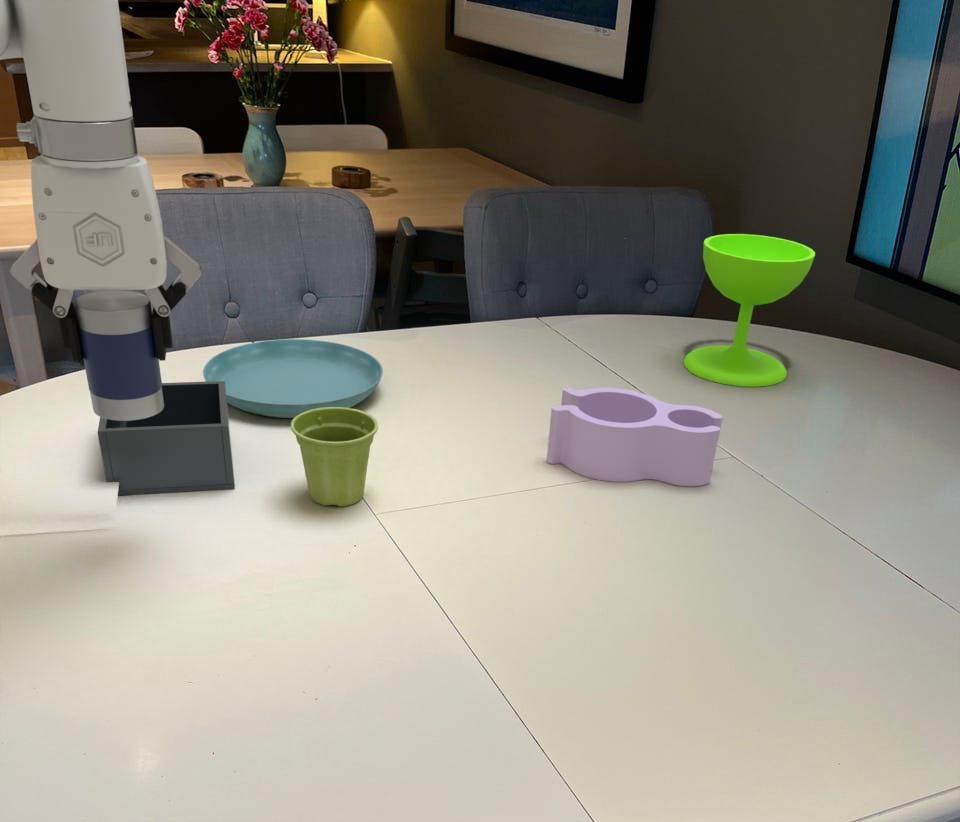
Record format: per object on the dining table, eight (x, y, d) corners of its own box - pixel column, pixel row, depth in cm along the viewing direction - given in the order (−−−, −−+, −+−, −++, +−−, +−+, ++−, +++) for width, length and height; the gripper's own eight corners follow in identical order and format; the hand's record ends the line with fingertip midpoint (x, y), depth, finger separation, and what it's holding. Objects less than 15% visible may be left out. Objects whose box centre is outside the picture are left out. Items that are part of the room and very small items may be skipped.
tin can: (89, 422, 90) (69, 312, 85) (96, 395, 95) (77, 290, 90) (163, 420, 92) (148, 311, 86) (166, 393, 97) (152, 289, 91)
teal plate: (169, 388, 135) (166, 364, 134) (304, 349, 151) (303, 328, 149) (283, 442, 123) (282, 417, 121) (418, 394, 138) (419, 371, 136)
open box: (108, 496, 109) (97, 431, 105) (116, 445, 120) (105, 384, 116) (234, 488, 112) (228, 425, 108) (230, 439, 123) (225, 380, 119)
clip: (715, 456, 126) (725, 404, 122) (706, 497, 116) (717, 443, 112) (562, 431, 130) (567, 380, 126) (541, 470, 120) (546, 416, 116)
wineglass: (718, 390, 146) (743, 264, 135) (664, 354, 158) (683, 236, 147) (808, 381, 151) (838, 259, 140) (748, 347, 163) (772, 232, 152)
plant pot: (395, 496, 113) (396, 425, 108) (332, 523, 107) (329, 449, 102) (341, 470, 118) (339, 400, 113) (277, 494, 112) (272, 421, 107)
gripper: (-37, 146, 76) (13, 373, 86) (197, 151, 79) (218, 369, 90) (-19, 130, 82) (26, 344, 92) (198, 136, 85) (218, 341, 96)
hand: (121, 354), depth 91 cm, fingers closed on tin can, 6 cm apart
